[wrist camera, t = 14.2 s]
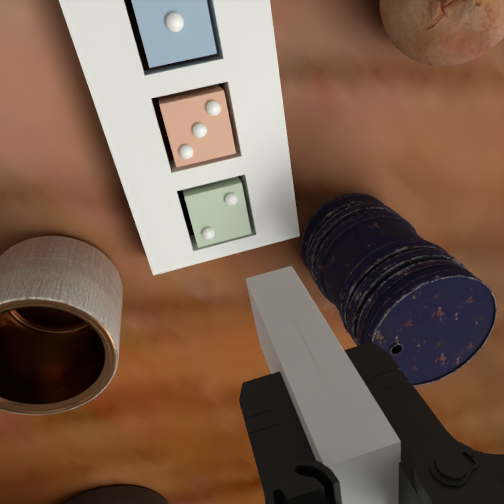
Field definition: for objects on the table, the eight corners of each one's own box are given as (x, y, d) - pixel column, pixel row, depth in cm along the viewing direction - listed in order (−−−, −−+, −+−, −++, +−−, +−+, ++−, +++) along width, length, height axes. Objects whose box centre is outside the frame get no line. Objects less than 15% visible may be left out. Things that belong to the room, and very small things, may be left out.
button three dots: (173, 155, 35) (176, 168, 32) (157, 96, 33) (159, 105, 30) (228, 142, 36) (236, 154, 33) (216, 83, 33) (224, 90, 31)
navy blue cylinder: (387, 177, 41) (501, 253, 28) (397, 261, 46) (497, 357, 33) (288, 213, 40) (358, 307, 28) (309, 294, 46) (377, 405, 33)
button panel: (152, 258, 39) (153, 275, 37) (55, -29, 28) (47, -32, 26) (289, 222, 41) (299, 236, 38) (249, -64, 30) (260, -71, 27)
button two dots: (193, 231, 39) (198, 248, 36) (180, 183, 36) (184, 197, 34) (243, 218, 39) (252, 234, 36) (234, 169, 37) (242, 183, 34)
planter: (-41, 274, 36) (-93, 351, 28) (71, 208, 36) (52, 267, 28) (48, 354, 42) (27, 438, 34) (146, 298, 41) (149, 370, 33)
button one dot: (148, 62, 32) (149, 68, 29) (128, -11, 29) (127, -13, 26) (210, 49, 32) (217, 53, 29) (195, -24, 30) (202, -27, 27)
